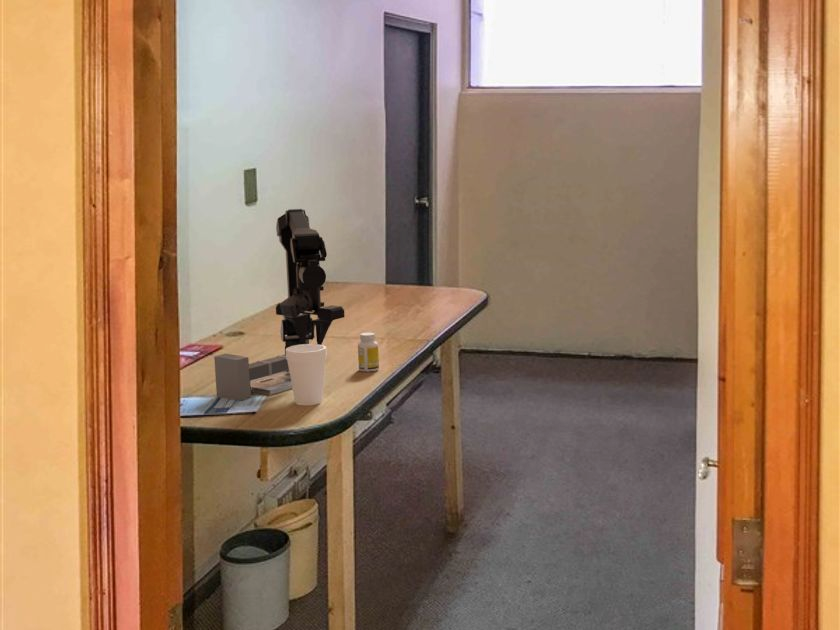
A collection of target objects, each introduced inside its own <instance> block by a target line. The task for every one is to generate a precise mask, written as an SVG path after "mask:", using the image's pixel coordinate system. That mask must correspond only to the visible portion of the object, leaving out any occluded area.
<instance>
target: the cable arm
mask: <svg viewBox="0 0 840 630" xmlns="http://www.w3.org/2000/svg"><path fill="white" fill-rule="evenodd" d="M286 370H289V367H288V362H287V360H286V354H285V353H284V354H281V355H277V356H273V357H270V358H267V359H262V360H257V361H255V362H251V363H249V378H250V381H251V380H255V379H258V378H262V377H265V376H271V375H272V374H276V373H279V372H283V371H286ZM251 393H252V392H251V384H250V394H251Z"/></svg>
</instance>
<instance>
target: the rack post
mask: <svg viewBox="0 0 840 630" xmlns="http://www.w3.org/2000/svg"><path fill="white" fill-rule="evenodd" d="M213 357H214V360H213V361H214V372H215V392H216V397H219V398H222V397H223V399H227V400H228V399H229V400H232V399H234V401H238V400H239V401H238V402H240V400H241V401H243V400H244V401H245V400H247V399H250V398H252V397H251V393H250V378H249V364H250V363H249V356H243V355H237V354H231V353H230V354H229V353H222V354H218V355H215V356H213Z"/></svg>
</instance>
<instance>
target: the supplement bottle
mask: <svg viewBox="0 0 840 630" xmlns="http://www.w3.org/2000/svg"><path fill="white" fill-rule="evenodd" d="M359 339H360V341H359V342H358V343H357V354H358V355H357V356H358V370H359V371H360V372H362V371H366V372H367V373H370V371H373V372H376V371H379V369H380V360H379V359H380V358H379V355H380V354H379V343H378V342H377V341H375V340H376V333H374V332H363V333H360V335H359Z"/></svg>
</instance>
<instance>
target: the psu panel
mask: <svg viewBox="0 0 840 630" xmlns="http://www.w3.org/2000/svg"><path fill="white" fill-rule="evenodd" d="M250 384H251V393H256V394H262V395H267V396H273V395H275V394H279V393H282V392H285V391H289V390H293V389H292V383H291V378H290V373H289V370H286V371H283V372H279V373H276V374H272V375H271V376H265V377H262V378H258V379H255V380H251V381H250Z"/></svg>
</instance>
